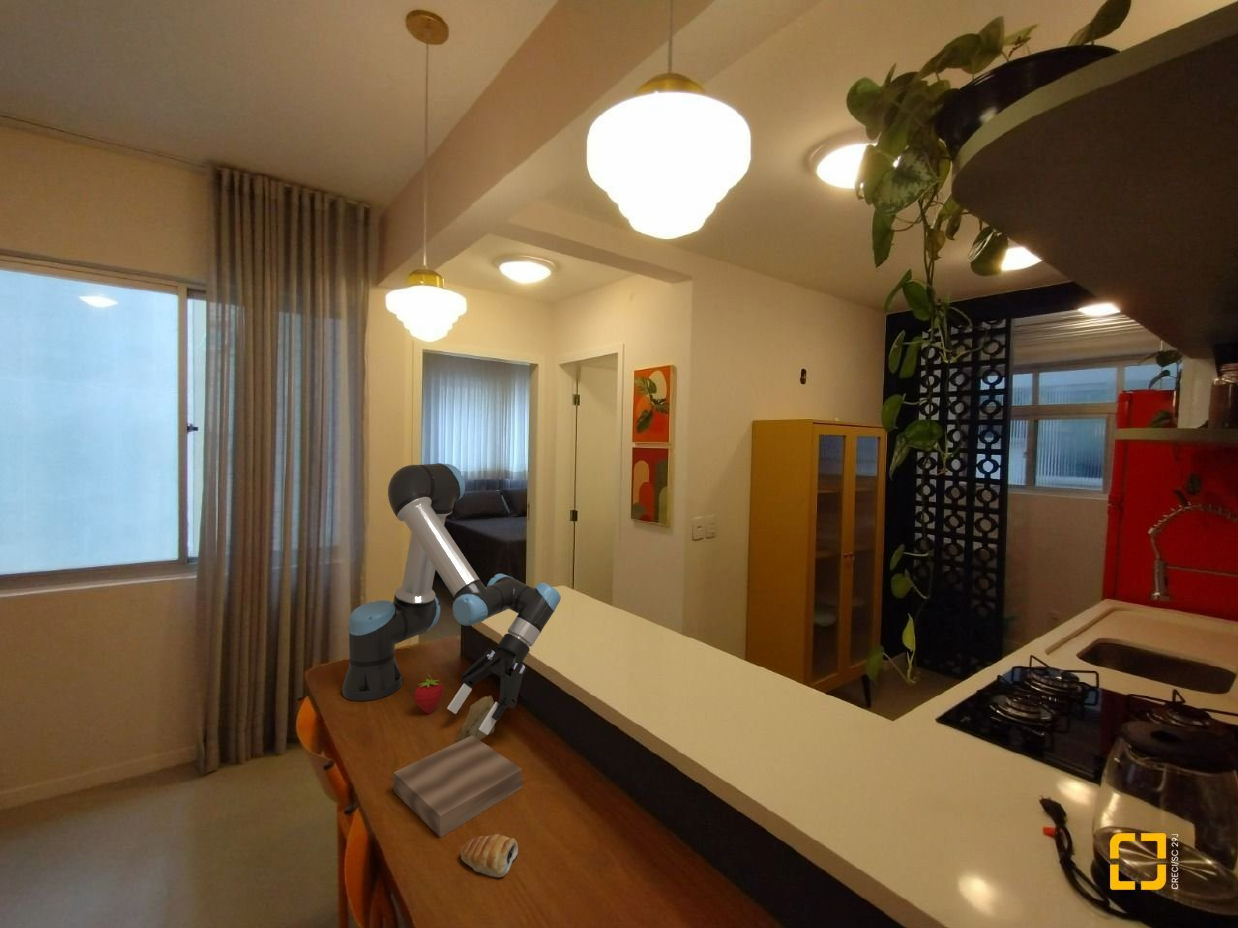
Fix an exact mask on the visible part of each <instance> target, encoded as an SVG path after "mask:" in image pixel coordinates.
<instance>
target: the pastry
mask: <svg viewBox="0 0 1238 928" xmlns="http://www.w3.org/2000/svg"><path fill="white" fill-rule="evenodd" d="M459 853H460V858H461V861H462V862H464V864H465V865H467V866H469V867H470V868H471V869H472V870H473V871H474V872H475V873H479V874H482V875H485V876H488V877H493V878H503V877H505V875H507V874H508V872H509V871H510V869H511V867H512V863H513V861H515V860H516V858H517V855H518V853H519V844H518V842H517V841H516V838H513V837H511V838H510V837H509V836H506V835H500V834H499V833H493V834H492V835H491V834H490V835H486V836H485V835H480V836H475V837H471V838H470V839H469V840H467V841H466V842H465V843H464V844H463V845H462V846H461V847H460V849H459Z"/></svg>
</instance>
